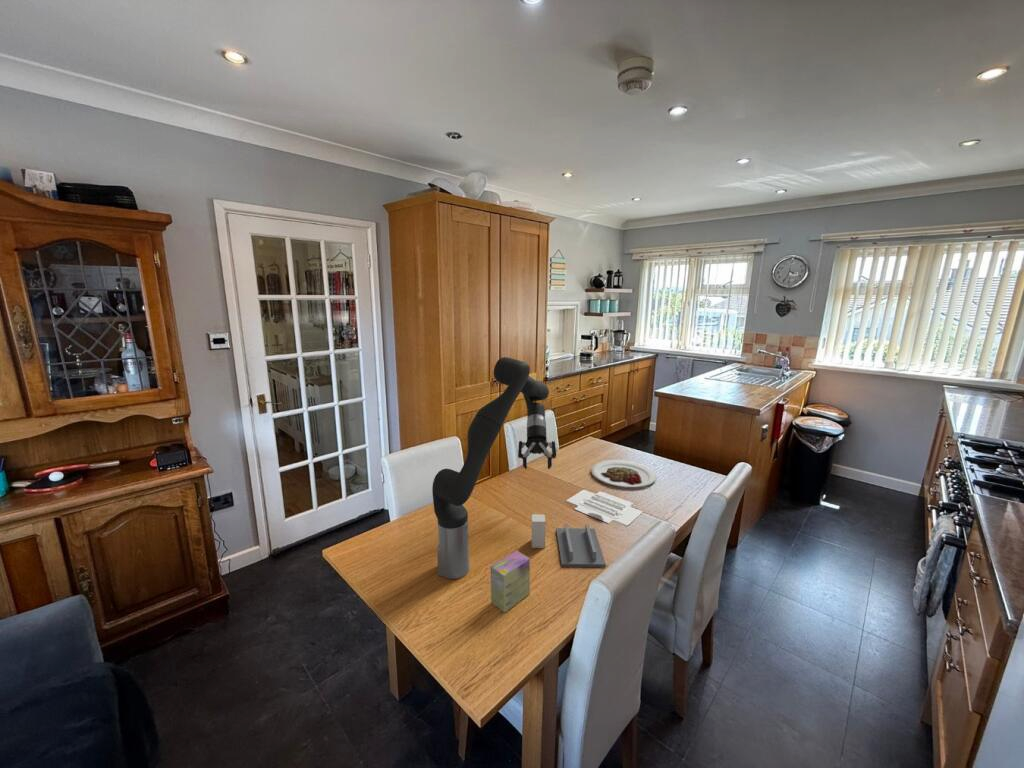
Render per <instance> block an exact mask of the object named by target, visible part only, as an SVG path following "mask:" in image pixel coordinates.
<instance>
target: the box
mask: <svg viewBox="0 0 1024 768" xmlns="http://www.w3.org/2000/svg"><path fill="white" fill-rule="evenodd" d="M530 559H531V558H530V557H528V556H526V555H525V554H523V553H521V552H520V551H518V550H515V551H513V552H511V553H509V554H508V555H507V556H505V557H504V558H502V559H500V560H498V561H497V562H495V563H494V564H492V565H490V595H491V596H490V603H491V604H492V605H493V606H495V607H496V608H498V609H499V610H500V611H501V612H503V613H506V612H507V611H509V610H510V609H512V608H513V607H515V605H517V604H518V603H519V602H521V601H522V600H524V599H525V598H526V597H528V596H530V593H531V592H530V591H531V590H530V589H531V587H530V586H531V581H530V580H531V578H530V577H531V575H530V571H531V565H530V563H531V561H530Z"/></svg>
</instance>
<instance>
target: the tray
mask: <svg viewBox="0 0 1024 768" xmlns="http://www.w3.org/2000/svg"><path fill="white" fill-rule="evenodd" d="M566 502H567V503H570V504H572V505H574V506H576V507H575V508H573V510H576V511H579V512H580V513H583V514H585V515H588V516H590V517H593V518H595V519H598V520H600V521H602V522H605V523H607V524H608V525H609V524H610V523H612V522H616V523H618V524H620V525H623V526H626V527H628V525H630V524H631V523H632V522H634V521H635V520H636V519H637V518H638V517H639V516H640V515H641V514H643V513H644V511H643V510H640V509H637V508H634V507H632V505H633V504H634V503H633V502H631V501H628V500H625V499H622V498H620V497H617V496H615V495H612V494H609V493H607V492H603V491H601V490H599V491H598V492H596V493H595V492H592V491H589V490H587V489H582V490H581V491H579V492H577V493H576V494H574V495H573V496H571V497H570V498H568V499H566Z"/></svg>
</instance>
